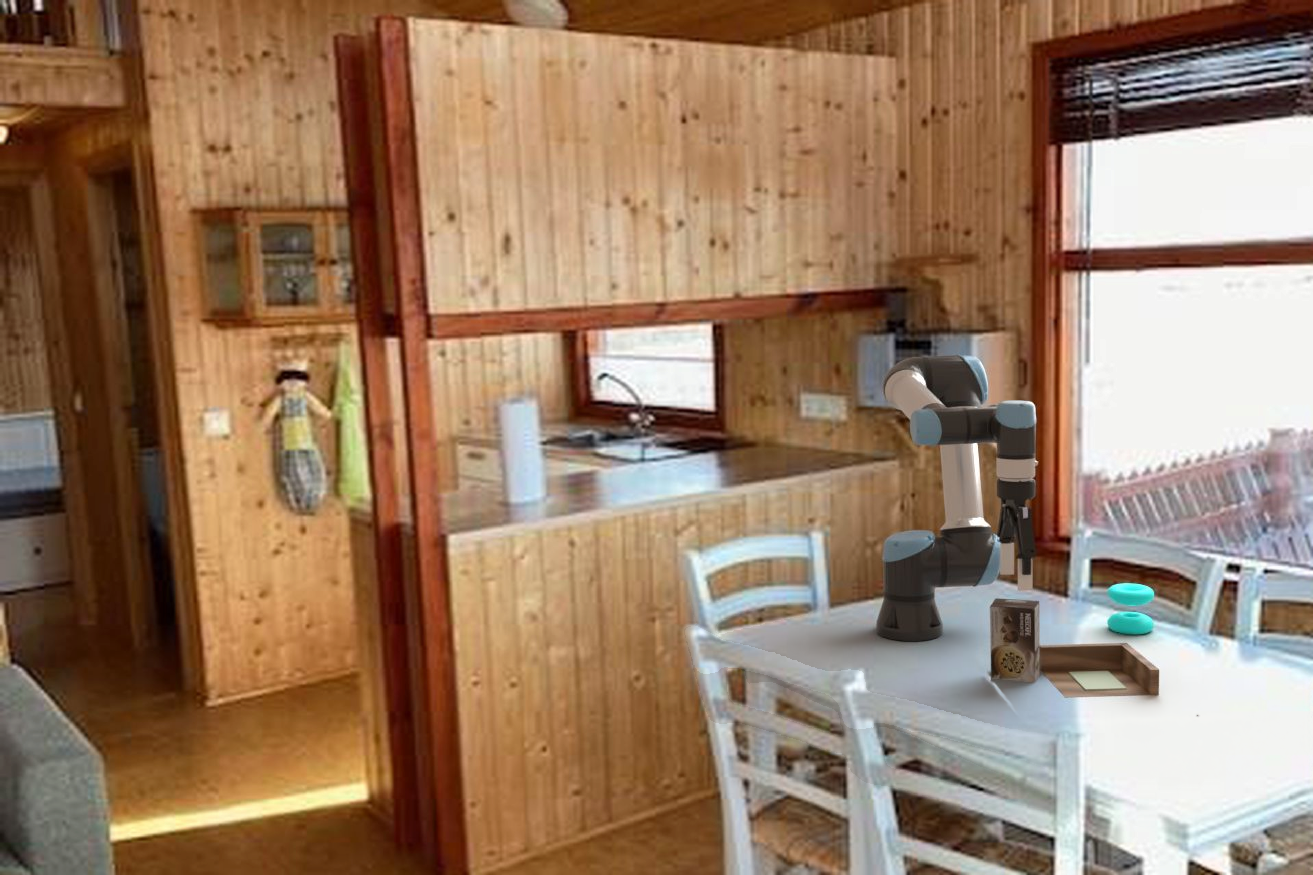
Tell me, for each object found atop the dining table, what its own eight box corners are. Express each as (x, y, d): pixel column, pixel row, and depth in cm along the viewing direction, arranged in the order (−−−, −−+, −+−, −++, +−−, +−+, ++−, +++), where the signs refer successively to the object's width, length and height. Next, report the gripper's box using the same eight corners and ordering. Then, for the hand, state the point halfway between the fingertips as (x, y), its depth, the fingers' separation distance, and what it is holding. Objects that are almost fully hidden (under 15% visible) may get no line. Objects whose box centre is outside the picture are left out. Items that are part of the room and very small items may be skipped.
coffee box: (1040, 677, 266) (1040, 600, 264) (1035, 686, 260) (1035, 608, 258) (995, 672, 270) (995, 596, 268) (989, 681, 264) (989, 604, 262)
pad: (1068, 673, 265) (1068, 671, 265) (1107, 672, 265) (1107, 670, 265) (1085, 690, 254) (1085, 689, 254) (1126, 689, 254) (1126, 687, 254)
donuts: (1162, 586, 295) (1139, 595, 289) (1162, 629, 297) (1139, 638, 290) (1122, 579, 303) (1099, 587, 296) (1121, 621, 304) (1098, 630, 298)
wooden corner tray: (1039, 672, 269) (1039, 645, 268) (1126, 669, 269) (1126, 642, 268) (1065, 701, 251) (1065, 672, 250) (1158, 698, 251) (1159, 669, 250)
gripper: (1053, 487, 247) (1052, 596, 250) (1018, 468, 272) (1017, 567, 275) (1013, 489, 247) (1013, 597, 250) (982, 469, 272) (982, 568, 275)
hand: (1015, 582), depth 262 cm, fingers open, 13 cm apart
